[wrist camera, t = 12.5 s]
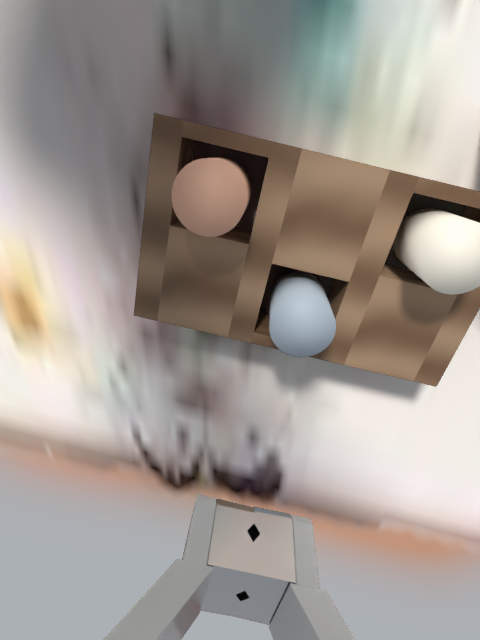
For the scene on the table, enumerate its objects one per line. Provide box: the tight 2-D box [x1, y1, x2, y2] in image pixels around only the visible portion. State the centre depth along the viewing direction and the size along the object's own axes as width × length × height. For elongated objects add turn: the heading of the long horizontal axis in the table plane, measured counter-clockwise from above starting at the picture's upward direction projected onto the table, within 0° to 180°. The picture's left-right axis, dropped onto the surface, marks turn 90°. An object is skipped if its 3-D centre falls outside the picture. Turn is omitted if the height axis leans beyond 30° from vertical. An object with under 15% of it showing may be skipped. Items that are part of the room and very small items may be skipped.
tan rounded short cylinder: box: [171, 157, 252, 237], centre depth 25 cm, size 5×5×6 cm
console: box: [134, 113, 480, 386], centre depth 29 cm, size 15×26×4 cm, turn 78°
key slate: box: [269, 272, 336, 357], centre depth 28 cm, size 5×5×6 cm
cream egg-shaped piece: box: [393, 208, 480, 295], centre depth 25 cm, size 5×5×6 cm
